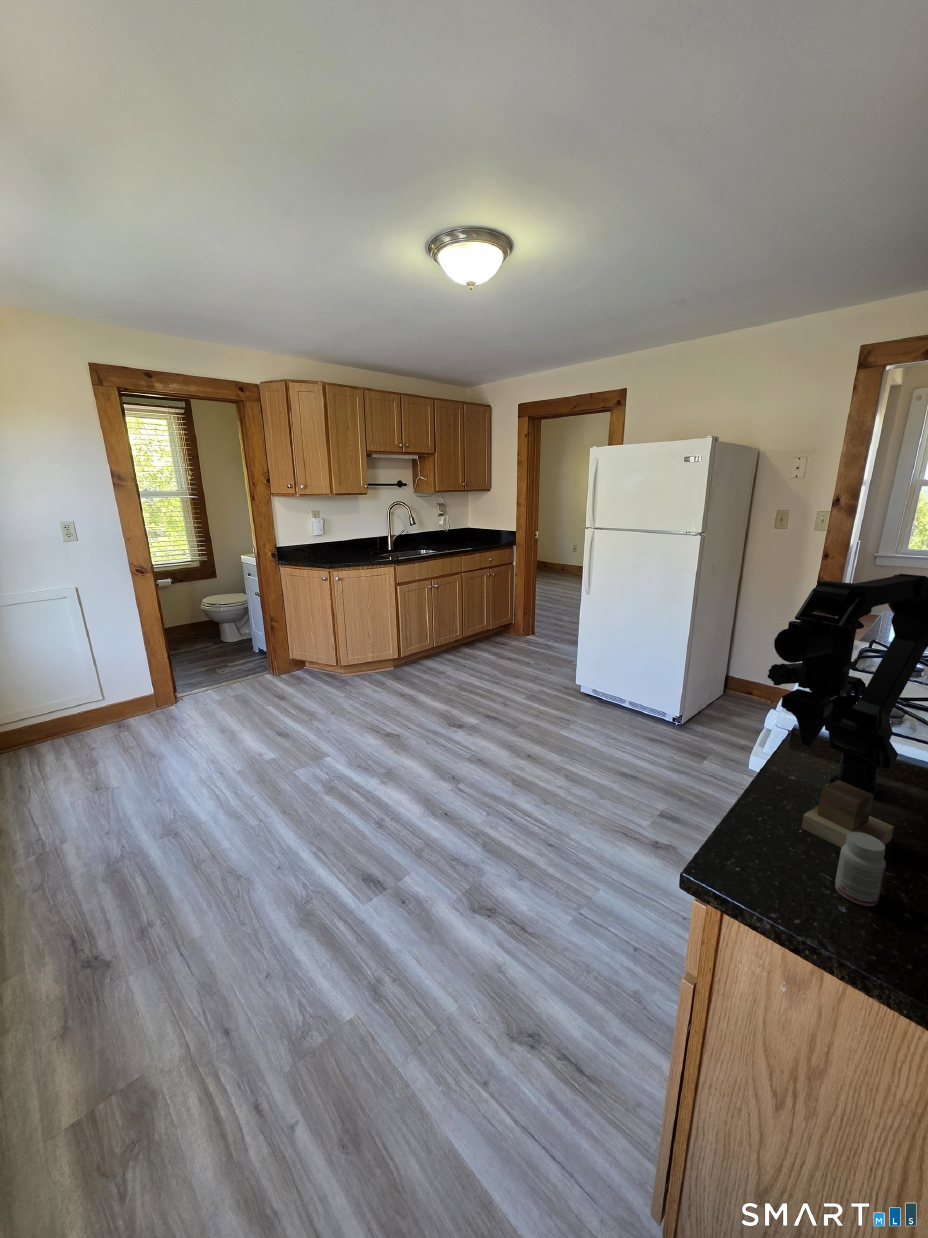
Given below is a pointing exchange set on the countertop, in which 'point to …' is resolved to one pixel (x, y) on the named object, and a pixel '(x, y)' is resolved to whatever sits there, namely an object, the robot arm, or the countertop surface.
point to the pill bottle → (861, 869)
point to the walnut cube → (845, 805)
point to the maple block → (839, 833)
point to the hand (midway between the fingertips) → (817, 738)
